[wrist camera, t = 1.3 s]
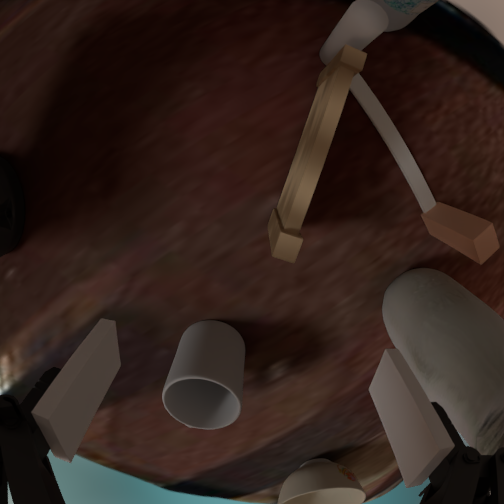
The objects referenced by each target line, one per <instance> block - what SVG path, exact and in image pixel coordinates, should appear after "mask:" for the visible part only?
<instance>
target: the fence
mask: <svg viewBox="0 0 504 504" xmlns="http://www.w3.org/2000/svg"><path fill="white" fill-rule="evenodd" d="M388 24H389V19H388V16H387V14H386V12H385V10H384V9H383V8H382V7H381V6H380V5H378V4H377V3H375V2H373V1H371V0H356V1H354V2H353V3H352V4H351V5H350V7H349V8H348V10H347V11H346V13H345V14H344V15H343V17H342V18H341V20H340V21H339V23H338V24H337V26H336V27H335V28H334V30H333V31H332V33H331V34H330V36H329V37H328V39H327V40H326V42H325V43H324V45H323V46H322V48H321V49H320V53H319V55H320V59H321V61H322V62H323V63H324V64H325V65H326V66H327V65H328V63H329V62H330V61H331V60H332V59H333V58H334V57H335V56H336V54H337V53H338V52H339V51H340V50H341V49H342V48H343V47H344V45H345V44H346V45H349V46H351V47H353V48H356V49H358V50H360V51H361V50H362V49H364V48H365V47H366V46H367V45H368V44H369V43H371V42H372V41H373V40H374V39H375V38H376V37H378V36H379V35H380V34H381V33H382V32H383V31H385V30H386V29H387V27H388ZM349 90H350V91H351V92H352V94H353V95H354V96H355V98H356V99H357V101H358V102H359V104H360V105H361V106H362V108H363V109H364V111H365V112H366V114H367V115H368V117H369V118H370V120H371V121H372V123H373V124H374V126H375V127H376V129H377V131H378V132H379V134H380V135H381V137H382V139H383V140H384V142H385V143H386V145H387V147H388V148H389V150H390V152H391V153H392V155H393V157H394V158H395V160H396V162H397V164H398V165H399V167H400V169H401V171H402V172H403V174H404V176H405V178H406V180H407V182H408V183H409V185H410V187H411V189H412V191H413V193H414V195H415V197H416V199H417V201H418V203H419V205H420V207H421V209H422V211H423V213H422V214H421V217H422V219H423V221H424V223H425V225H426V227H427V229H428V232H429V234H430V235H432V236H434V237H435V238H437V239H439V240H441V241H442V242H444V243H446V244H447V245H449V246H451V247H453V248H454V249H456V250H458V251H459V252H461V253H462V254H464V255H466V256H467V257H469V258H471V259H472V260H474V261H475V262H477V263H479V264H480V265H482V264H483V263H484V262H485V261H486V260H487V259H488V258H489V257H490V256H491V255H492V254H493V253H495V252H496V251H497V250H498V249H499V248H500V246H499V242H498V239H497V235H496V232H495V229H494V226H493V223H492V222H490V221H487V220H485V219H482V218H480V217H477V216H475V215H472V214H470V213H467V212H465V211H462V210H459V209H457V208H454V207H451V206H449V205H446V204H443V203H441V202H438V201H437V202H435V200H434V197H433V195H432V193H431V191H430V189H429V187H428V185H427V183H426V181H425V179H424V177H423V175H422V173H421V171H420V170H419V168H418V166H417V164H416V162H415V160H414V158H413V157H412V155H411V153H410V151H409V149H408V148H407V146H406V144H405V142H404V141H403V139H402V137H401V136H400V134H399V132H398V131H397V129H396V127H395V126H394V124H393V123H392V121H391V119H390V118H389V116H388V115H387V113H386V112H385V110H384V108H383V107H382V105H381V104H380V102H379V101H378V99H377V98H376V96H375V95H374V94H373V92H372V91H371V89H370V88H369V86H368V85H367V84H366V82H365V81H364V79H363V78H362V77H361V75H360V74H359V73H358V74H356V75H355V76H354V77H353V79H352V82H351V85H350V88H349Z"/></svg>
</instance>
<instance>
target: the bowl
mask: <svg viewBox="0 0 504 504" xmlns="http://www.w3.org/2000/svg"><path fill="white" fill-rule="evenodd" d="M365 498H366V494H365V492H364V490H363V488H362V486H361V485H360V483H359V481H358V480H357V478H356V476H355V475H354V474H353V473H352V472H351V471H350V470H349V469H348V468H346V467H345V466H343V465H340V464H338V463H334V462H331V461H330V460H328V459H324V458H318V459H312V460H309V461H306V462H305V463H303V464H302V465H301V466H300V468H299V469H297V470H296V471H294V472H293V473H292V474H291V475H290V476H289V477H288V478H287V479H286V481H285V482H284V484H283V486H282V489H281V492H280V496H279V500H278V504H362V503H363V501H364V500H365Z"/></svg>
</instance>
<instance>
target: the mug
mask: <svg viewBox="0 0 504 504" xmlns="http://www.w3.org/2000/svg"><path fill="white" fill-rule="evenodd" d="M244 362H245V344H244V341H243V339H242V337H241V335H240V334H239V333H238V332H237V331H236V330H235V329H234V328H233V327H231V326H230V325H228V324H226V323H223V322H220V321H215V320H205V321H200V322H197V323H195V324H193V325H191V326H190V327H189V328H188V329H187V330H186V331H185V332H184V334H183V335H182V338H181V340H180V343H179V347H178V350H177V353H176V355H175V358H174V361H173V364H172V367H171V369H170V372H169V375H168V378H167V381H166V383H165V386H164V389H163V394H162V399H163V403H164V406H165V408H166V410H167V411H168V412H169V413H170V414H171V415H172V416H173V417H174V418H175V419H177V420H178V421H180V422H182V423H183V424H186V426H188V427H190V428H193V427H195V428H199V429H218V428H222V427H225V426H228V425H229V424H231V423H233V422H234V421H235V420H236V419H237V418H238V416H239V415H240V412H241V409H242V396H243V378H244Z"/></svg>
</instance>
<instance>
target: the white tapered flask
mask: <svg viewBox="0 0 504 504" xmlns="http://www.w3.org/2000/svg"><path fill="white" fill-rule="evenodd" d="M382 312H383V320H384V323H385V326H386V329H387V331H388V334H389V336H390V338H391V340H392V342H393V344H394V345H395V347H396V349H399V351H400V352H401V354H402V356H403V357H404V359H405V360H406V362H407V364H408V365H409V367H410V369H411V370H412V372H413V373H414V375H415V377H416V378H417V380H418V382H419V383H420V385H421V387H422V388H423V390H424V392H425V394H426V395H427V397H428V399H429V400H430V402H437V403H438V404H439V405H440V406H442V407H443V408H444V410H445V411H446V413H447V415H448V418H450V420H451V422H452V424H453V425H454V427H455V429H456V430H457V431H458V432H459V433H460V434H461V435H462V436H463V438H464V439H465V440H466V441H467V443H468V444H469V446H470V447H473V448H475V449H476V450H478V451H479V453H480V454H481V455H493V454H494V453H495V452H496V451H497V450H498V449H499V448H501V447H504V320H503V319H502V318H501V317H500V316H499V315H498V314H497V313H496V312H495V311H494V310H492V309H491V308H490V307H489V306H488V305H486V304H485V303H484V302H483V301H481V300H480V299H479V298H477V297H476V296H475V295H473V294H472V293H471V292H469V291H468V290H467V289H466V288H464V287H463V286H462V285H460V284H459V283H458V282H456V281H455V280H454V279H452V278H451V277H450V276H448V275H446V274H445V273H443V272H440V271H438V270H435V269H430V268H417V269H412V270H409V271H407V272H405V273H403V274H401V275H400V276H399V277H397V278H396V279H395V280H394V281H393V282H392V283H391V284H390V285H389V287H388V288H387V290H386V292H385V294H384V300H383V306H382Z"/></svg>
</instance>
